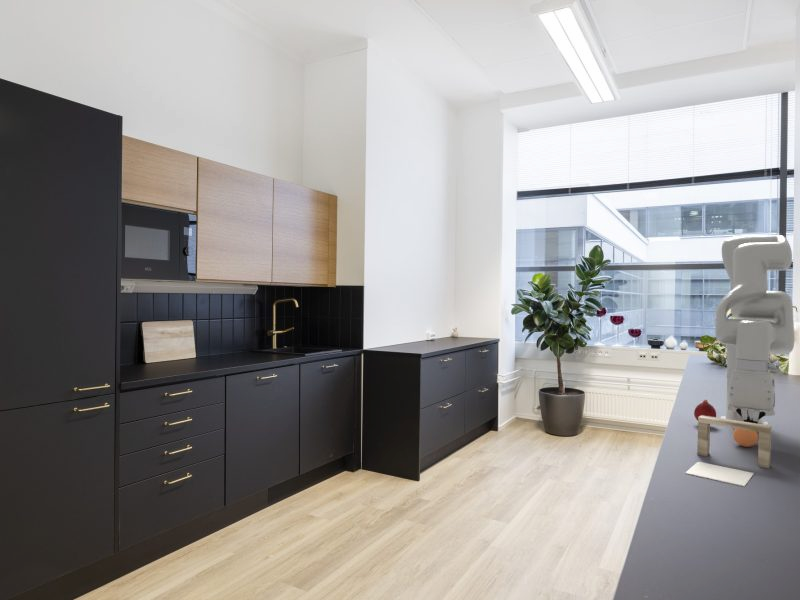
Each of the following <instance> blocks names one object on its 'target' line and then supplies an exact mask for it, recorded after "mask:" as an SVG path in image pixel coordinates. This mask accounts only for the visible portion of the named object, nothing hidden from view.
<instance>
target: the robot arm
mask: <svg viewBox="0 0 800 600" xmlns="http://www.w3.org/2000/svg"><path fill="white" fill-rule="evenodd" d="M721 258H722V263H723V267H724V269H725V271H726V273H727V275H728V278H729V281H730V284H729V285H730V291H728V293H726V294H725V295H724V296H723V297H722V299H721V300H720V301H719V302H718V305H717V307H716V311H715V321H714V322H715V325H714V326H715V329H714V330H715V338H716V340H717V342H718V343H720V344H722V345H725V347H726V359H727V360H726V363H727V364H726V392H725V393H726V394H725V396H726V397H725V415H723V416H722V415H721V416H720V417H719V418H723V419H729V420H736V421H742V422H749V423H756V424H762V425H769V423H768V422H767V421H766V420H763V417H771V416H775V415H776V410H775V406H776V391H775V390H776V389H775V377H774V373H773V372H770V371H771V370H776V368H777V364H776V363H772V362H771V361H770V355H782V356H783V355H788V354H790V353H792V352H793V349H794V346H795V327H794V325H795V323H794V311H793V310H794V308H793V302H792V298H791V296H790V295H789V293H787V292H786V291H781V290H768V287H769V286H768V272H772V271H778V272H779V271H787V270H789V268H791V265H792V260H793V251H792V248H791V244H790V243H789V241H788V239H787V238H786V236H784V235H781V234H769V235H765V234H764V235H739V236H732V237H729V238H726V239H725V240H723V242H722V246H721ZM728 311H730V312H731V315H732V317H733V318H727V314H728ZM756 432H757V431H756ZM757 433H758V432H757Z"/></svg>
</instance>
